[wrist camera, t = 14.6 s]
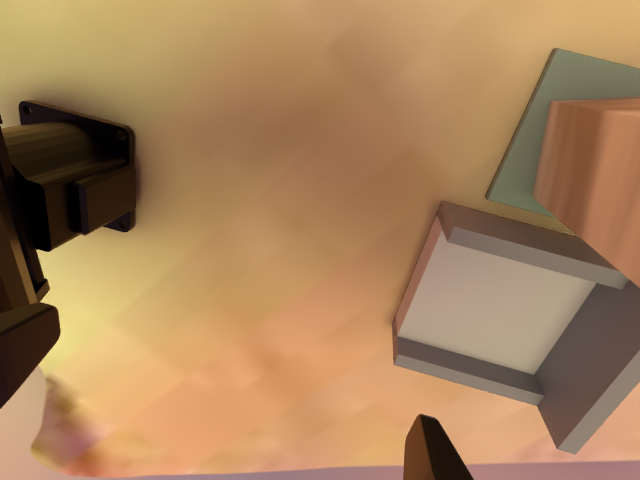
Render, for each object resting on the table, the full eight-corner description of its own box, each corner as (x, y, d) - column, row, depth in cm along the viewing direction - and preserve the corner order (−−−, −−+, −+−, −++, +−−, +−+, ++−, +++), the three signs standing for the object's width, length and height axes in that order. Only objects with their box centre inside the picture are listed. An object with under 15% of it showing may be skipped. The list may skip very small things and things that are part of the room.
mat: (485, 197, 19) (487, 199, 19) (553, 48, 16) (557, 48, 15) (619, 232, 19) (623, 236, 18) (715, 89, 16) (723, 89, 15)
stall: (391, 324, 23) (395, 401, 18) (442, 201, 19) (465, 251, 14) (529, 363, 23) (575, 454, 17) (608, 245, 19) (698, 315, 14)
